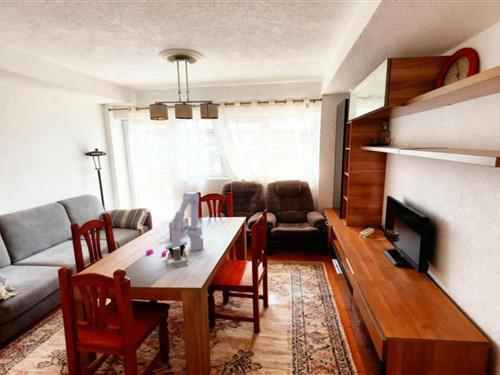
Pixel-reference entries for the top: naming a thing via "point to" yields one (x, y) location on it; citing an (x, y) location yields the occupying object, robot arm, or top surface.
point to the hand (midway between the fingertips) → (177, 256)
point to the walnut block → (177, 254)
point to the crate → (183, 258)
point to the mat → (180, 264)
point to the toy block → (150, 252)
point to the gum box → (183, 228)
